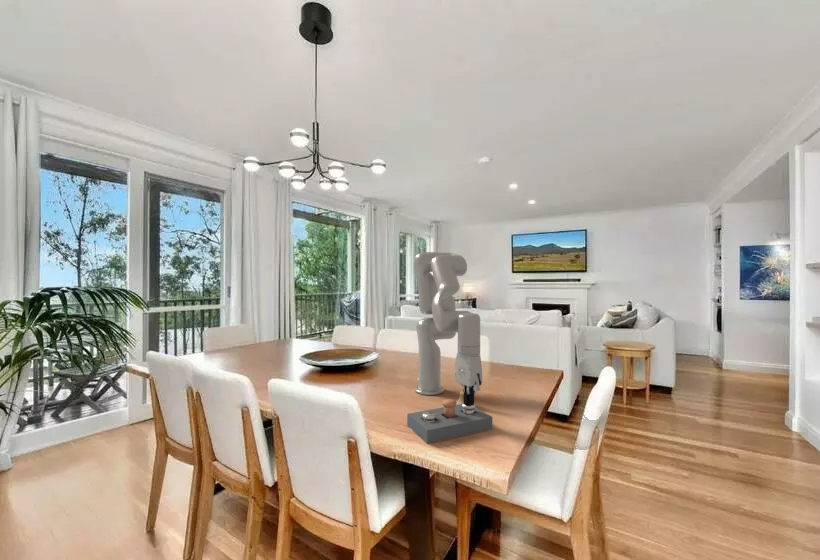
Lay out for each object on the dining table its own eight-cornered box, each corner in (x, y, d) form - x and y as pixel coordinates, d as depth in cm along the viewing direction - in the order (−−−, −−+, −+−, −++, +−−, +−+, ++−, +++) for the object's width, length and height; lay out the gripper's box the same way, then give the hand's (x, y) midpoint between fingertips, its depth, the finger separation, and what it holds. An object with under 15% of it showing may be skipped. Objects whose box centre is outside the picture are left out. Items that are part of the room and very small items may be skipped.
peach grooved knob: (440, 415, 118) (440, 400, 118) (451, 413, 120) (451, 398, 120) (447, 420, 114) (447, 404, 114) (458, 417, 116) (458, 402, 116)
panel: (407, 425, 118) (407, 413, 118) (467, 414, 128) (467, 403, 128) (427, 443, 105) (427, 430, 105) (492, 429, 116) (492, 416, 116)
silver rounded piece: (459, 417, 121) (459, 403, 121) (470, 415, 123) (470, 401, 123) (466, 422, 117) (466, 407, 117) (477, 420, 119) (477, 405, 119)
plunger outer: (420, 428, 115) (420, 413, 115) (431, 426, 117) (432, 410, 116) (426, 433, 111) (426, 417, 111) (438, 431, 113) (438, 415, 112)
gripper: (447, 347, 125) (447, 399, 125) (472, 355, 111) (472, 413, 111) (465, 345, 128) (465, 396, 128) (492, 353, 115) (492, 410, 115)
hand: (468, 404), depth 120 cm, fingers closed
